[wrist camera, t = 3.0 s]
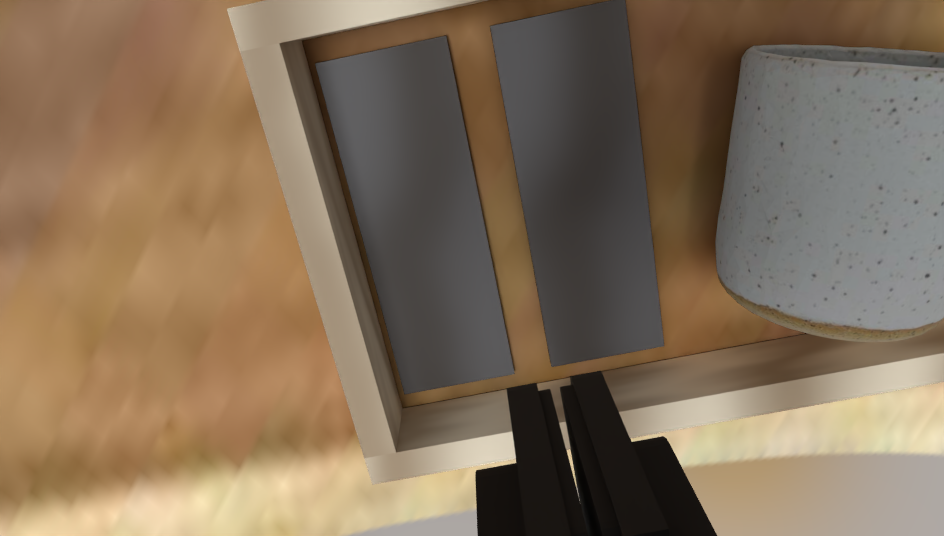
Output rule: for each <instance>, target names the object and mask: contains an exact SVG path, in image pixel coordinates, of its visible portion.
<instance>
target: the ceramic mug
mask: <svg viewBox="0 0 944 536" xmlns="http://www.w3.org/2000/svg"><path fill="white" fill-rule="evenodd" d="M715 244H716V264H717V273H718V278H719V280H720V283H721V284H722V286H723V287H724V288H725V290H726V291H727V293H728V294H730V295H731V296H732V297H733V298H734V299H735V300H736V301H737V302H738V303H739V304H741V305H742V306H743V307H745V308H746V309H748V310H749V311H751V312H752V313H754V314H756V315H758V316H760V317H762V318H765V319H767V320H769V321H771V322H773V323H775V324H778V325H781V326H784V327H786V328H789V329H793V330H797V331H800V332H804V333H807V334H811V335H816V336H821V337H825V338H830V339H838V340H846V341H854V342H891V341H898V340H904V339H908V338H911V337H915V336H918V335H922V334H924V333H925V332H927V331H929V330H931V329H932V328H934V327H936V326H937V325H938V324H939V323H940V322H941V321H942V319H943V318H944V53H941V52H926V51H917V50H899V49H885V48H873V47H841V46H829V45H798V44H794V45H761V46H752V47H750V48H749V49H747V50H746V52H745V53H744V55H743V57H742V59H741V67H740V76H739V83H738V90H737V97H736V103H735V109H734V115H733V122H732V128H731V136H730V143H729V151H728V158H727V166H726V173H725V181H724V189H723V195H722V200H721V205H720V210H719V216H718V224H717V233H716V242H715Z"/></svg>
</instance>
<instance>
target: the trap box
mask: <svg viewBox="0 0 944 536" xmlns="http://www.w3.org/2000/svg"><path fill="white" fill-rule="evenodd" d="M483 1H488V0H265V1H261V2H256V3H252V4H247V5H243V6H238V7H233V8H229V9H227V11H228V14H229V18H230V21H231V24H232V27H233V31H234V34H235V37H236V41H237V44H238V47H239V50H240V54H241V57H242V60H243V63H244V67H245V70H246V73H247V76H248V80H249V83H250V86H251V90H252V93H253V96H254V99H255V103H256V106H257V109H258V112H259V116H260V119H261V122H262V125H263V129H264V132H265V135H266V139H267V142H268V145H269V148H270V152H271V155H272V158H273V161H274V165H275V168H276V171H277V174H278V178H279V181H280V184H281V187H282V191H283V194H284V197H285V201H286V204H287V207H288V210H289V214H290V217H291V220H292V223H293V227H294V230H295V233H296V236H297V240H298V243H299V246H300V250H301V253H302V256H303V259H304V263H305V266H306V269H307V272H308V276H309V279H310V282H311V285H312V289H313V292H314V295H315V299H316V302H317V305H318V308H319V312H320V315H321V318H322V321H323V325H324V328H325V331H326V334H327V338H328V341H329V344H330V348H331V351H332V354H333V357H334V361H335V364H336V367H337V370H338V374H339V377H340V380H341V383H342V387H343V390H344V393H345V397H346V400H347V403H348V406H349V410H350V413H351V416H352V419H353V423H354V426H355V429H356V432H357V436H358V439H359V442H360V445H361V449H362V452H363V455H364V459H365V462H366V465H367V468H368V472H369V475H370V478H371V481H372V485H373V484H379V483H384V482H390V481H395V480H401V479H406V478H412V477H418V476H423V475H429V474H434V473H440V472H445V471H451V470H457V469H462V468H468V467H473V466H479V465H484V464H490V463H496V462H501V461H507V460H512V459H516V455H515V448H514V440H513V433H512V426H511V418H510V411H509V404H508V396H507V389H505V390H500V391H495V392H489V393H484V394H478V395H473V396H468V397H462V398H457V399H451V400H446V401H441V402H435V403H430V404H424V405H419V406H414V407H408V408H402V405H401V401H400V397H399V394H398V390H397V387H396V383H395V379H394V376H393V372H392V368H391V365H390V361H389V357H388V354H387V350H386V346H385V343H384V339H383V335H382V332H381V328H380V325H379V321H378V317H377V314H376V310H375V306H374V303H373V299H372V295H371V292H370V288H369V284H368V281H367V277H366V273H365V270H364V266H363V263H362V259H361V255H360V252H359V248H358V244H357V241H356V237H355V233H354V230H353V226H352V222H351V219H350V215H349V211H348V208H347V204H346V201H345V197H344V193H343V190H342V186H341V182H340V179H339V175H338V171H337V168H336V164H335V160H334V157H333V153H332V149H331V146H330V142H329V139H328V135H327V131H326V128H325V124H324V120H323V117H322V113H321V109H320V106H319V102H318V98H317V95H316V91H315V87H314V84H313V80H312V77H311V73H310V69H309V66H308V62H307V58H306V55H305V51H304V47H303V44H302V41H303V40H307V39H312V38H316V37H321V36H326V35H330V34H335V33H340V32H344V31H349V30H354V29H358V28H363V27H367V26H372V25H377V24H381V23H386V22H391V21H395V20H400V19H405V18H409V17H414V16H418V15H423V14H428V13H432V12H437V11H442V10H446V9H451V8H456V7H460V6H465V5H470V4H474V3H479V2H483ZM490 29H491V35H492V41H493V46H494V52H495V57H496V63H497V68H498V74H499V79H500V85H501V90H502V96H503V102H504V107H505V113H506V118H507V124H508V129H509V135H510V140H511V146H512V151H513V157H514V163H515V168H516V174H517V179H518V185H519V190H520V196H521V201H522V207H523V212H524V218H525V224H526V229H527V235H528V240H529V246H530V251H531V257H532V262H533V268H534V273H535V279H536V285H537V290H538V296H539V301H540V307H541V312H542V318H543V323H544V329H545V334H546V340H547V346H548V351H549V357H550V362H551V366H552V367H554V366H560V365H565V364H570V363H576V362H581V361H587V360H592V359H597V358H603V357H608V356H613V355H619V354H624V353H630V352H635V351H640V350H646V349H651V348H656V347H662V346H664V339H663V330H662V322H661V313H660V304H659V295H658V286H657V277H656V268H655V260H654V251H653V242H652V233H651V224H650V215H649V206H648V197H647V189H646V180H645V171H644V162H643V153H642V144H641V135H640V126H639V118H638V109H637V100H636V91H635V82H634V73H633V64H632V56H631V47H630V38H629V29H628V20H627V11H626V2H625V0H610V1H606V2H601V3H596V4H592V5H587V6H582V7H578V8H573V9H568V10H564V11H559V12H554V13H549V14H545V15H540V16H535V17H531V18H526V19H521V20H517V21H512V22H507V23H503V24H498V25H493V26H490ZM315 65H316V69H317V73H318V76H319V80H320V84H321V87H322V91H323V95H324V98H325V102H326V106H327V110H328V113H329V117H330V121H331V124H332V128H333V132H334V135H335V139H336V143H337V146H338V150H339V154H340V158H341V161H342V165H343V169H344V172H345V176H346V180H347V183H348V187H349V191H350V195H351V198H352V202H353V206H354V209H355V213H356V217H357V220H358V224H359V228H360V231H361V235H362V239H363V243H364V246H365V250H366V254H367V257H368V261H369V265H370V268H371V272H372V276H373V280H374V283H375V287H376V291H377V294H378V298H379V302H380V305H381V309H382V313H383V316H384V320H385V324H386V328H387V331H388V335H389V339H390V342H391V346H392V350H393V353H394V357H395V361H396V365H397V368H398V372H399V376H400V379H401V383H402V387H403V390H404V394H409V393H415V392H420V391H425V390H431V389H436V388H442V387H447V386H452V385H458V384H463V383H468V382H474V381H479V380H485V379H490V378H495V377H501V376H506V375H511V374H515V373H514V368H513V363H512V358H511V353H510V348H509V343H508V338H507V333H506V328H505V323H504V318H503V313H502V308H501V304H500V299H499V294H498V289H497V284H496V279H495V274H494V269H493V264H492V259H491V254H490V249H489V244H488V239H487V234H486V229H485V225H484V220H483V215H482V210H481V205H480V200H479V195H478V190H477V185H476V180H475V175H474V170H473V165H472V160H471V155H470V150H469V146H468V141H467V136H466V131H465V126H464V121H463V116H462V111H461V106H460V101H459V96H458V91H457V86H456V81H455V76H454V71H453V67H452V62H451V57H450V52H449V47H448V42H447V37H446V36H442V37H437V38H432V39H428V40H423V41H418V42H414V43H409V44H404V45H400V46H395V47H390V48H386V49H381V50H376V51H372V52H367V53H362V54H358V55H353V56H348V57H343V58H339V59H334V60H329V61H325V62H320V63H316V64H315ZM602 374H603V376H604V379H605V381H606V383H607V386H608V388H609V390H610V393H611V395H612V397H613V400H614V402H615V404H616V407H617V409H618V411H619V414H620V416H621V418H622V421H623V423H624V425H625V428H626V430H627V432H628V435H629V437H630V438H635V437H640V436H646V435H652V434H657V433H663V432H668V431H674V430H679V429H685V428H691V427H696V426H702V425H707V424H713V423H718V422H724V421H730V420H735V419H741V418H746V417H752V416H757V415H763V414H769V413H774V412H780V411H785V410H791V409H796V408H802V407H808V406H813V405H819V404H824V403H830V402H835V401H841V400H846V399H852V398H858V397H863V396H869V395H874V394H880V393H885V392H891V391H897V390H902V389H908V388H913V387H919V386H924V385H930V384H936V383H941V382H944V318H943V319H942V321H941V322H940V323H939V324H938V325H937V326H936V327H934V328H932V329H931V330H929V331H927V332H925V333H924V334H922V335H918V336H915V337H911V338H908V339H904V340H898V341H891V342H854V341H846V340H838V339H830V338H825V337H821V336H816V335H811V334H803V335H797V336H792V337H786V338H781V339H776V340H770V341H765V342H759V343H754V344H749V345H743V346H738V347H732V348H727V349H722V350H716V351H711V352H705V353H700V354H695V355H689V356H684V357H678V358H673V359H668V360H662V361H657V362H651V363H646V364H641V365H635V366H630V367H624V368H619V369H614V370H608V371H603V372H602ZM567 385H571V382H570V378H565V379H560V380H554V381H549V382H543V383H538V384H537V387H538V391H540V390H546V389H550V390H551V393H552V397H553V401H554V405H555V409H556V413H557V416H558V420H559V424H560V428H561V432H562V436H563V439H564V443H565V447H566V450H568V449H570V443H569V437H568V432H567V426H566V421H565V415H564V409H563V404H562V398H561V392H560V387H562V386H567Z"/></svg>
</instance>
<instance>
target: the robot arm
mask: <svg viewBox="0 0 944 536" xmlns="http://www.w3.org/2000/svg"><path fill="white" fill-rule="evenodd" d="M570 382H571V385H567V386H562V387H560V392H561V398H562V404H563V409H564V415H565V421H566V426H567V432H568V437H569V443H570V449H571V454H572V460H573V465H574V471H575V477H576V482H577V488H578V493H579V497H578V493H577V489H576V486H575V482H574V478H573V474H572V470H571V466H570V463H569V459H568V455H567V451H566V447H565V443H564V439H563V436H562V432H561V428H560V424H559V420H558V416H557V413H556V409H555V405H554V401H553V397H552V393H551V390H550V389H546V390H540V391H538V387H537V383H533V384H528V385H522V386H517V387H512V388H507V396H508V404H509V411H510V418H511V426H512V433H513V440H514V448H515V455H516V463H515V464H509V465H504V466H498V467H493V468H487V469H482V470H476V501H477V528H478V536H717V535H716V533H715V531H714V529H713V527H712V525H711V523H710V521H709V519H708V517H707V515H706V513H705V512H704V510H703V508H702V506H701V504H700V502H699V500H698V498H697V496H696V494H695V492H694V490H693V488H692V486H691V484H690V483H689V481H688V479H687V477H686V475H685V473H684V471H683V469H682V467H681V465H680V463H679V461H678V459H677V457H676V455H675V454H674V452H673V450H672V448H671V446H670V444H669V442H668V441H667V439H666V438H665V437H657V438H652V439H646V440H641V441H635V442H631V439H630V437H629V435H628V432H627V430H626V428H625V425H624V423H623V421H622V418H621V416H620V414H619V411H618V409H617V407H616V404H615V402H614V400H613V397H612V395H611V393H610V390H609V388H608V386H607V383H606V381H605V379H604V376H603V374H602V372H601V371H597V372H592V373H586V374H581V375H576V376H570ZM579 499H580V501H579Z"/></svg>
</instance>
